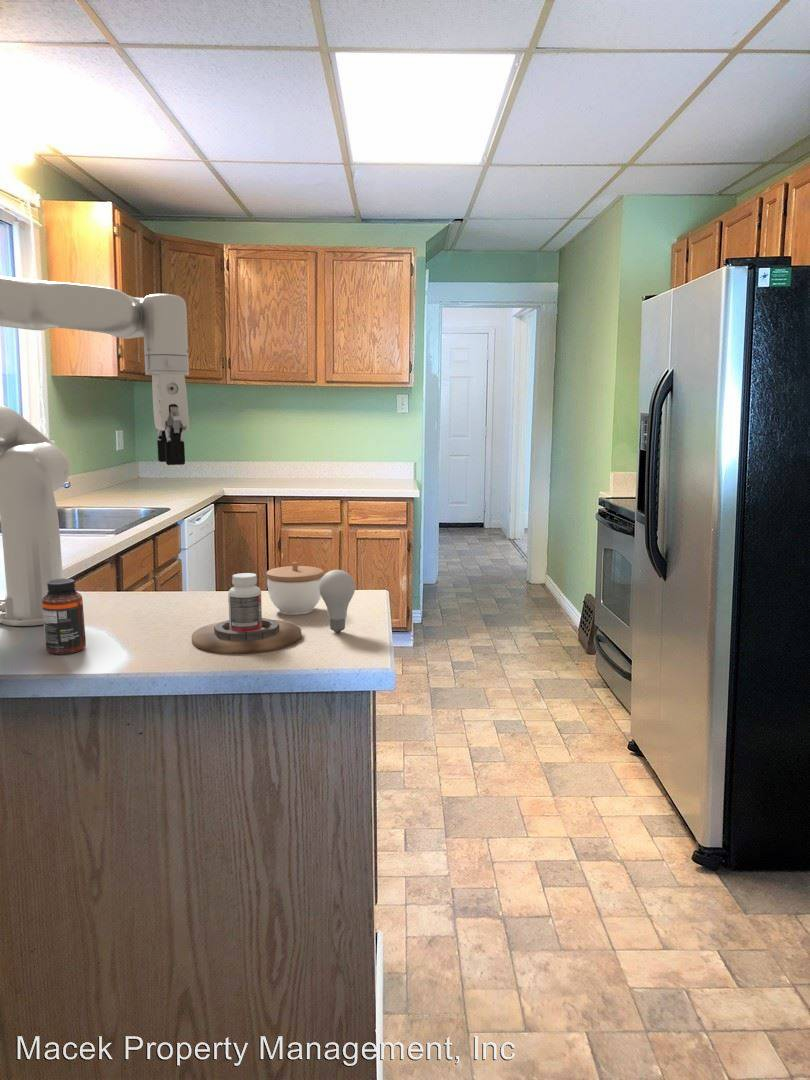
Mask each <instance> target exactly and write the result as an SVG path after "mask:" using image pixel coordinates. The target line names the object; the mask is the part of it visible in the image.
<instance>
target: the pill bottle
mask: <svg viewBox="0 0 810 1080" xmlns="http://www.w3.org/2000/svg"><path fill="white" fill-rule="evenodd" d="M257 578H258V577H257V574H256V573H253V572H246V573H245V572H242V573H236V574H232V580H231V581H232V582H231V583H232V586H233V587H231V588H230V589H228V594H227V596H228V597H227V598H228V600H227V601H228V620H229V627H230V631H233V632H250V631H259V630H262V618H263V613H262V611H263V610H262V590H261V588H260V587H258V586H256V584H257V582H258V579H257Z"/></svg>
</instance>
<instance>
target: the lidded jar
mask: <svg viewBox="0 0 810 1080" xmlns="http://www.w3.org/2000/svg"><path fill="white" fill-rule="evenodd" d="M298 563H299V562H297V561H293V562H291V564H292V565H291V566H290V565H289V566H288V565H287V566H280V567H274V568H271V569H269V570H267V571H266V581H267V590H268V591H267V592H268V595H269V599H270V601H271V603H272V604H273V606H274V607H275V608H277V609H278V610H279V612H280V613H281V614H283V615H289V616H291V615H292V616H295V615H296V616H297V615H299V616H300V615H306V614H309V613H311V612H313V609H314V608H315V607H316V606H317V605H318V604H319V602H320V600H321V598H322V596H321V594H320V591H319V584H320V581H321V579H322V577H323V576H324V575H325V572H324V570H323V569H322V568H319V567H315V566H310V565H309V566H306V565H299V564H298Z"/></svg>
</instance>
